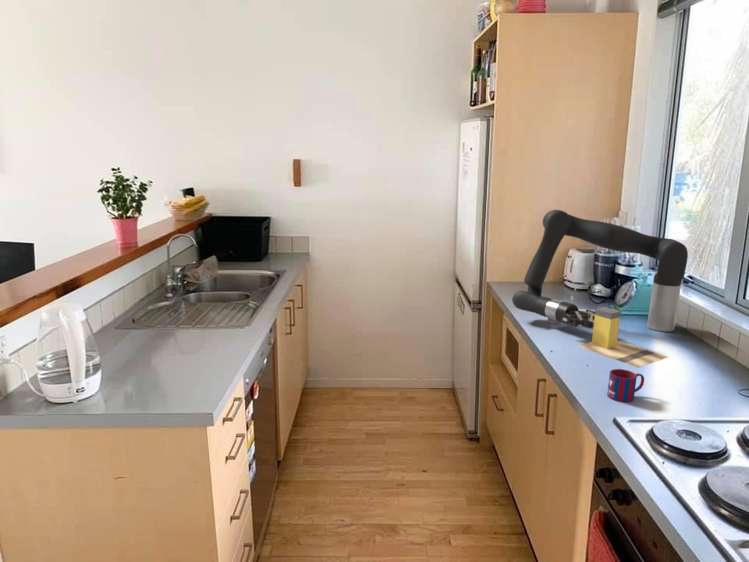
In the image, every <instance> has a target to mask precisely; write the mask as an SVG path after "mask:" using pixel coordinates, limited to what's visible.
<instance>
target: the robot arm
mask: <svg viewBox="0 0 749 562" xmlns="http://www.w3.org/2000/svg"><path fill="white" fill-rule="evenodd" d="M542 225H543V229H544V231H543V236H542V239H541V241H540V244H539V246H538V249H537V250H536V252H535V254H534V256H533V258H532V259H531V262H530V264H529V266H528V269H527V271H526V273H525V276H524V279H523V280H524V281H523V282H524V283H525V285H526V286H527V290H519V291H516V292H515V293H514V294H513V296H512V299H511V300H512V304H513V305H514V307H515V308H517V310H521V311H526V312H528V313H529V312H530V313H533V314H537V315H539V316H541V317H545V318H547V319H548V318H550V319H552V320H555V321H558V322H559V323H562V324H564V325H568V326H571V327H574V328H575V327H584V328H588V329H593V328H594V319H595V312H594V311H591V310H592V309H586V312H585V311H582V310H578V309H579V308H578V306H577V305H576V304H574V303H570V302H567V301H564V300H560V299H554V298H551V297H547V296H542V293H543V286H544V282H545V279H546V278H547V275H548V272H549V270H550V267H551V265H552V264H551V263H552V262H553V259H554V257H555V254H556V252H557V250H558V247H559V246H560V244H561V242H562V240H563V239H564V237H565V236H566V237H567V236H568V237H572V238H576V239H579V240H582V241H585V242H587V243H589V244H591V245H594V246H598V247H600V248H603V249H607V250H611V251H615V252H620V253H628V254H629V253H630V254H632V253H633V254H638V255H643V256H646V257H649V258H651V259H654V260H657V261H658V267H657V272H656V273H655V274H654V275H653V279H652V280H653V281H652V288H651V296H650V303H649V308H648V309H649V310H648V318H647V323H646V326H647V328H648V329H650V330H653V331H656V332H657V331H659V332H673V331H675V328H676V323H677V316H678V309H679V299H680V296H681V295H680V293H681V286H682V282H683V279H684V277H685V274H686V269H687V264H688V258H689V254H688V253H689V252H688V248H687V247H686V246H685V244H683V243H682V242H680V241H677V240H676V239H672V238H665V237H660V236H653V235H649V234H644V233H642V232H639V231H636V230H634V229H631V228H629V227H624V226H621V225H618V224H614V223H609V222H605V221H599V220H589V219H584V218H580V217H576V216H574V215H571V214H568V213H567V212H566V211H564V210H560V209H553V210H549V211H548V212H546V213H545V215H544V217H543V218H542ZM588 318H590V320H588Z"/></svg>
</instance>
